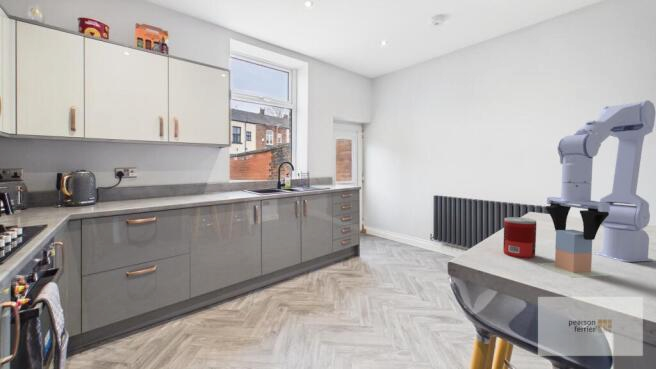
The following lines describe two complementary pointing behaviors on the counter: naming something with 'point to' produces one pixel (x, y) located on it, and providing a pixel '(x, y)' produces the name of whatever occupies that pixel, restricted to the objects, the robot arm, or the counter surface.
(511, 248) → the canned food
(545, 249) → the counter surface
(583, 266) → the terracotta brick
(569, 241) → the blue brick
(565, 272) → the plate
